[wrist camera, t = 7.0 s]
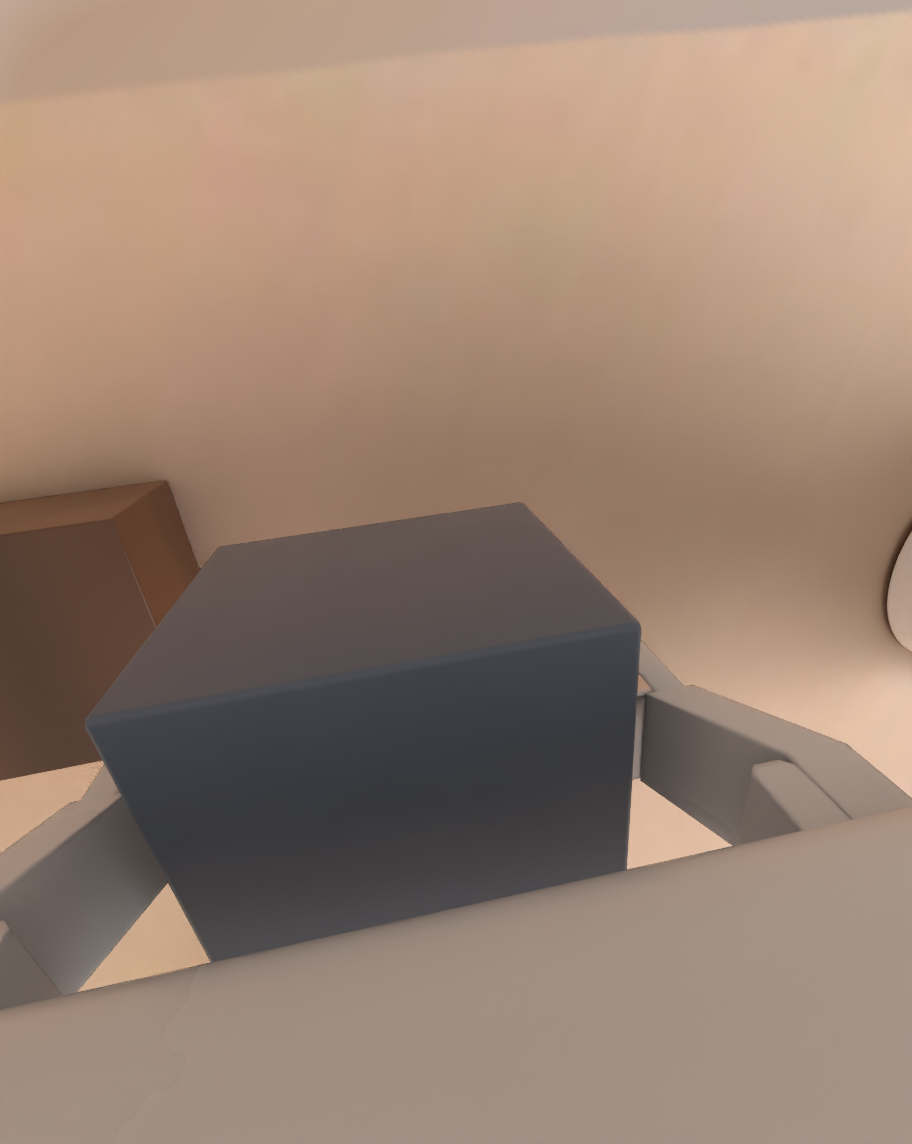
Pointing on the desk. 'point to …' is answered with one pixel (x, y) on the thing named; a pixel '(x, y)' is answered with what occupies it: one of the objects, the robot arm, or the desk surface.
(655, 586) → the desk surface
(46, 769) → the walnut block
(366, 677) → the slate block
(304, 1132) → the robot arm
